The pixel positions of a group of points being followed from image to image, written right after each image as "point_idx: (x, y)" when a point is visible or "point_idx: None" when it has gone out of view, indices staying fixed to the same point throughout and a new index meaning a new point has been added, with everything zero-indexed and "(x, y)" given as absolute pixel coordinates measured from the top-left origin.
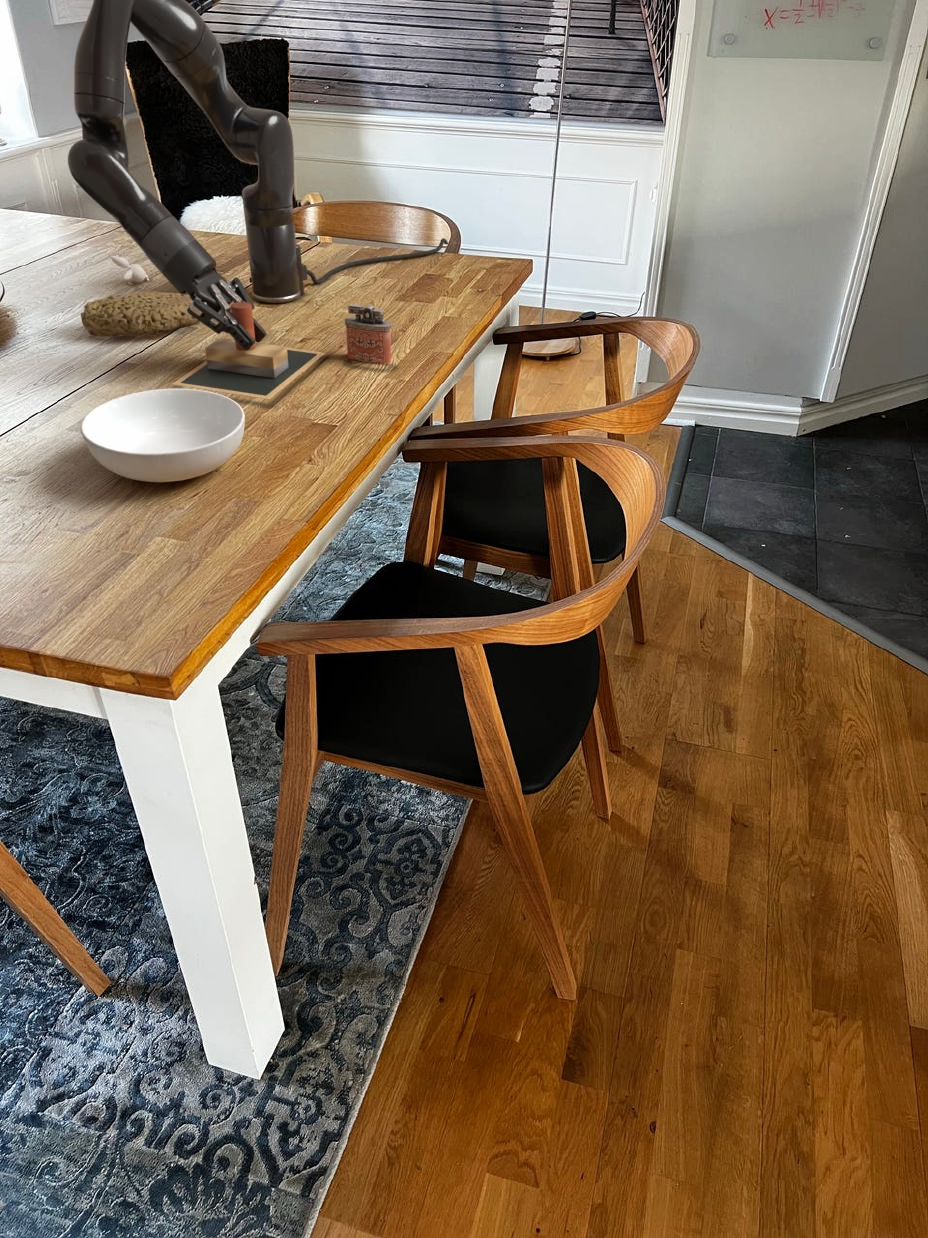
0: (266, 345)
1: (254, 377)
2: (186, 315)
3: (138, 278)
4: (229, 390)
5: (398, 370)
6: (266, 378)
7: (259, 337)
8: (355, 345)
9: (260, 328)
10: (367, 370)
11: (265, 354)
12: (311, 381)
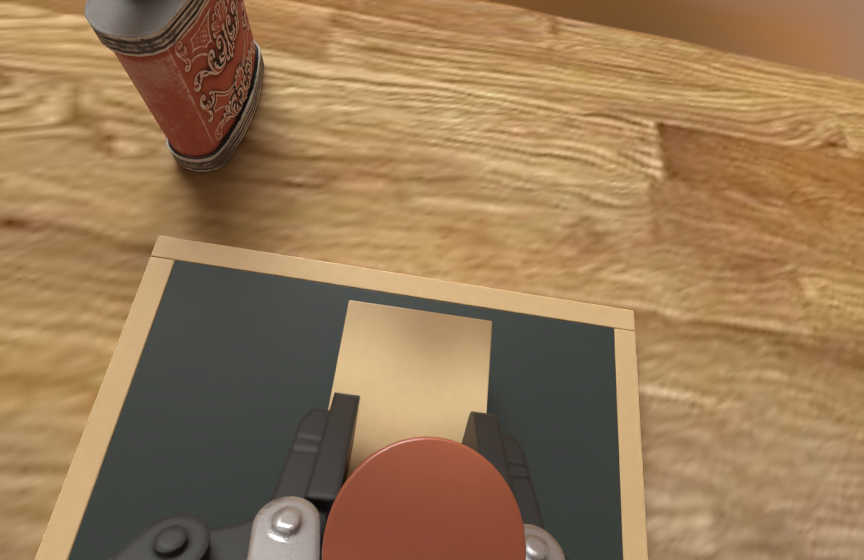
0: None
1: None
2: None
3: None
4: (623, 478)
5: (255, 32)
6: None
7: (354, 432)
8: (214, 84)
9: (346, 419)
10: (266, 107)
11: (468, 364)
12: (392, 247)
